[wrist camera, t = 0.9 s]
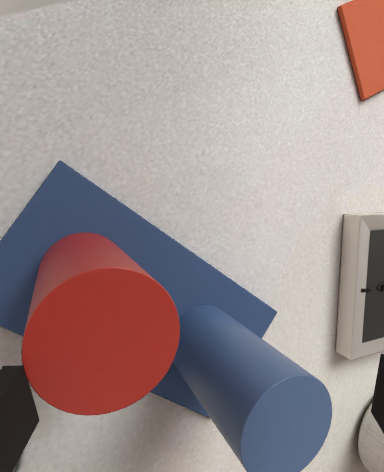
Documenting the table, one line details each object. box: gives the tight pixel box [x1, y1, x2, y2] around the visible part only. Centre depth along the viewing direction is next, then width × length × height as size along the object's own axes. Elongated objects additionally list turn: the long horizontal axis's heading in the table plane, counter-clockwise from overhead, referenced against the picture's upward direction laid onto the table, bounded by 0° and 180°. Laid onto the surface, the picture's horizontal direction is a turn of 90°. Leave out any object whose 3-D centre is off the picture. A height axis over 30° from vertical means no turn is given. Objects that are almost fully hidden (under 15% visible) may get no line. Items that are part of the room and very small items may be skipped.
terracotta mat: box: [338, 0, 384, 101], centre depth 33 cm, size 9×9×1 cm
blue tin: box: [173, 305, 332, 472], centre depth 23 cm, size 6×6×12 cm
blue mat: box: [0, 161, 277, 418], centre depth 27 cm, size 24×12×1 cm, turn 54°
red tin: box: [21, 232, 180, 415], centre depth 19 cm, size 6×6×12 cm
